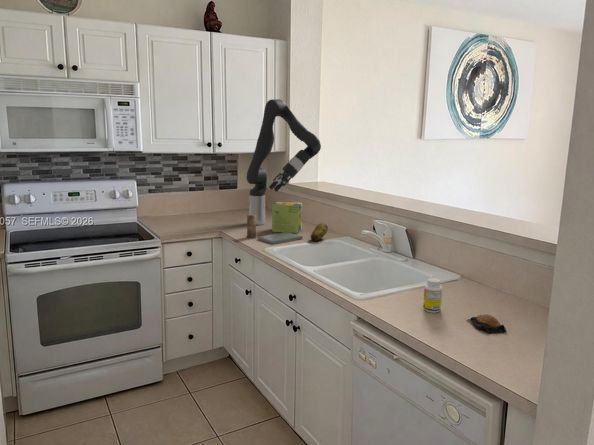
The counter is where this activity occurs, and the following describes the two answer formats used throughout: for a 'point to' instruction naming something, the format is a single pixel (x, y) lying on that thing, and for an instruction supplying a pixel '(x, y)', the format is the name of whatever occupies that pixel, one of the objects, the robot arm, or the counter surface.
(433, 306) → the supplement bottle
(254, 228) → the walnut roller
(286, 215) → the protein box
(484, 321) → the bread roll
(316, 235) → the potato
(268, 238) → the slate board
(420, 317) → the counter surface
